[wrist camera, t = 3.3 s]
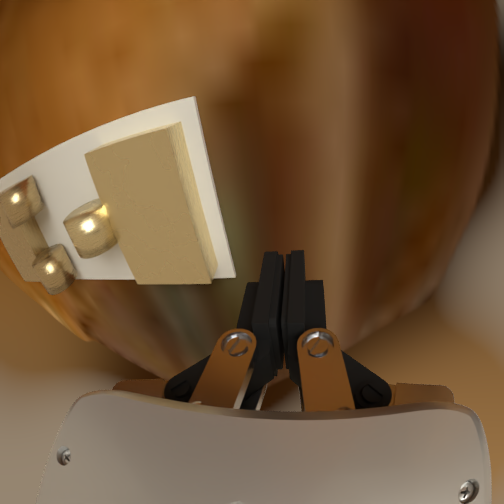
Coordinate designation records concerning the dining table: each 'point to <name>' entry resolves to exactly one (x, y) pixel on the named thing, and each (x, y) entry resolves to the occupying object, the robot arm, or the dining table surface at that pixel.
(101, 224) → the door leaf
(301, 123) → the dining table surface
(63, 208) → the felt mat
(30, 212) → the frame leaf
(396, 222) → the dining table surface
